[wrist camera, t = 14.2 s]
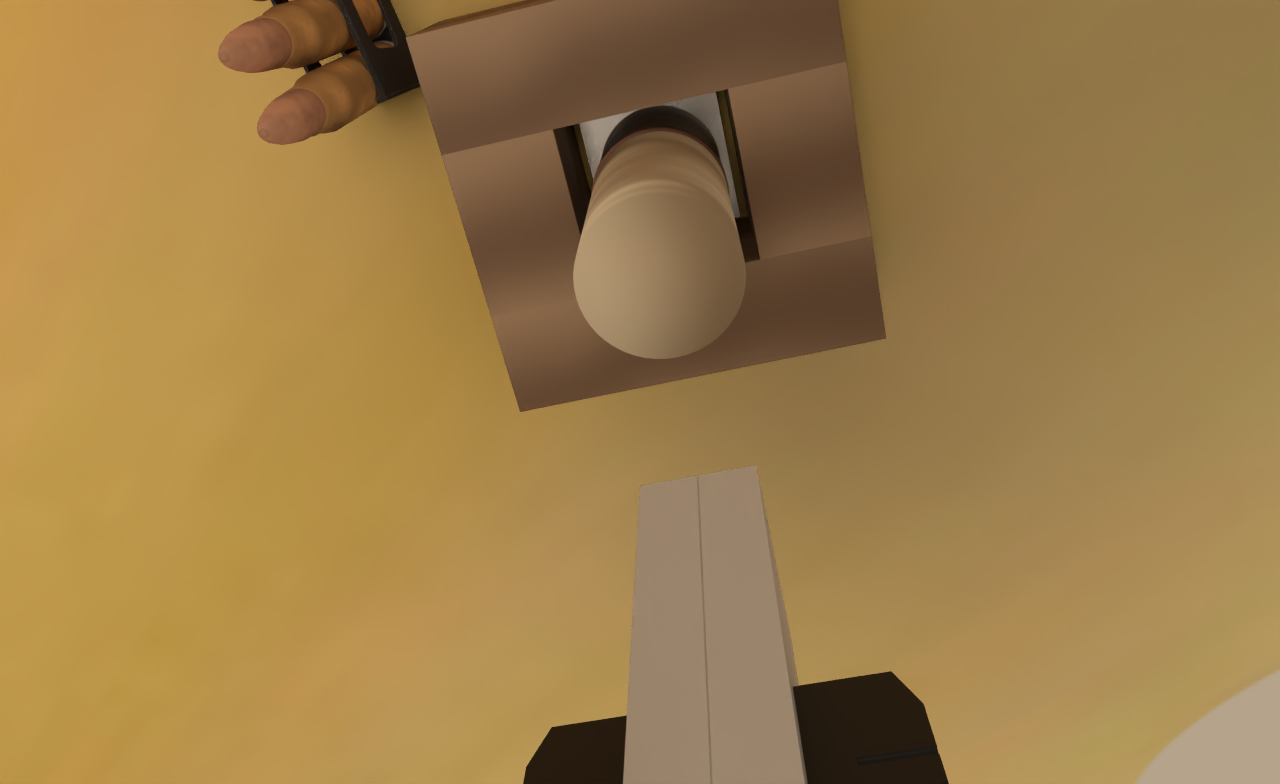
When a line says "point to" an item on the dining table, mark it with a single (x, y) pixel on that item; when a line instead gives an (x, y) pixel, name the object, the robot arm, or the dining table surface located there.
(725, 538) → the robot arm
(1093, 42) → the dining table surface
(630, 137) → the peg
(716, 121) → the platform
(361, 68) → the ammunition clip
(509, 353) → the socket block
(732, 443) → the dining table surface
